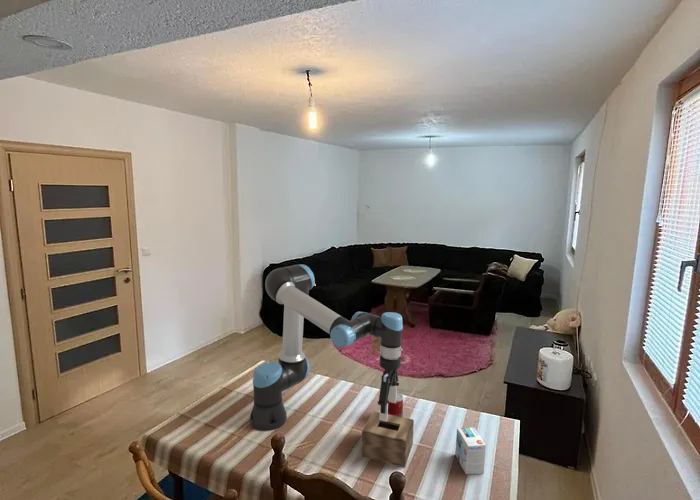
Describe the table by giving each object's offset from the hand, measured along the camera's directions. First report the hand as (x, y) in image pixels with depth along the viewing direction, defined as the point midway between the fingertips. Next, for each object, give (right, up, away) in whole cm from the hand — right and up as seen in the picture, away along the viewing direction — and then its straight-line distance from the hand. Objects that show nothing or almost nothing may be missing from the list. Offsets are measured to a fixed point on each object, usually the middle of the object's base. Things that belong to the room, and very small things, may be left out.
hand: (387, 410), depth 144 cm
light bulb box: (+28, -17, -5) cm, 34 cm away
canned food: (+4, -13, +22) cm, 26 cm away
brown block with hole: (0, -15, +2) cm, 16 cm away
